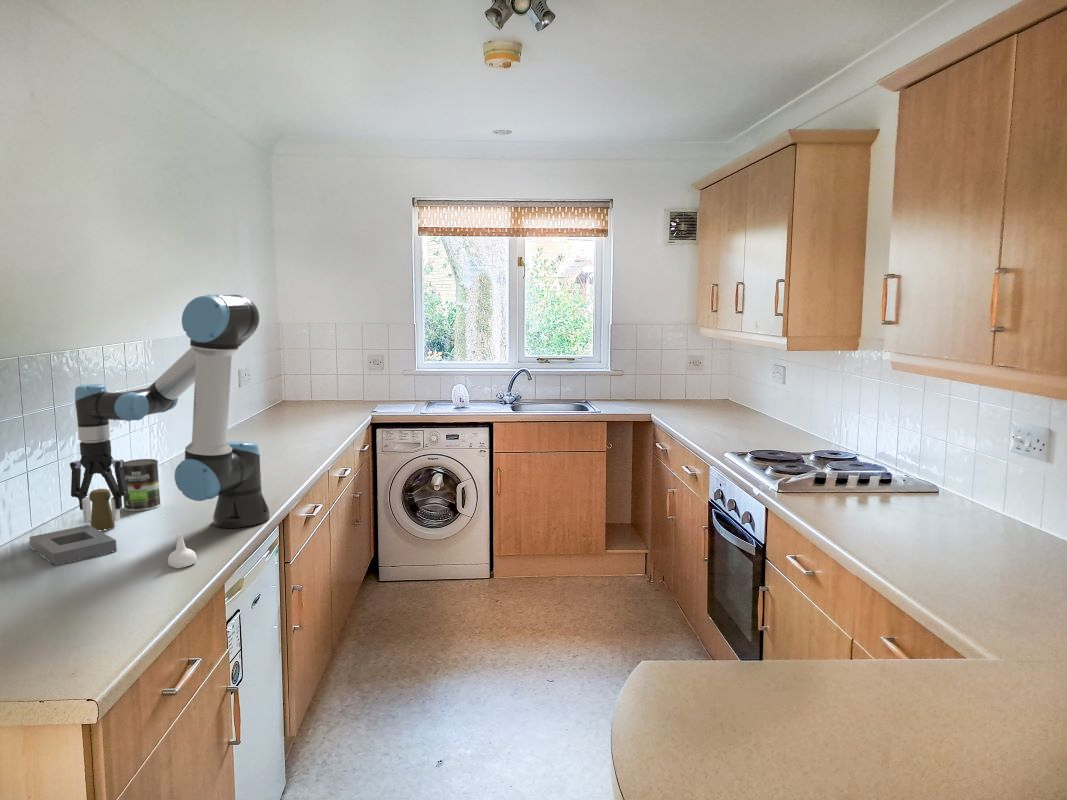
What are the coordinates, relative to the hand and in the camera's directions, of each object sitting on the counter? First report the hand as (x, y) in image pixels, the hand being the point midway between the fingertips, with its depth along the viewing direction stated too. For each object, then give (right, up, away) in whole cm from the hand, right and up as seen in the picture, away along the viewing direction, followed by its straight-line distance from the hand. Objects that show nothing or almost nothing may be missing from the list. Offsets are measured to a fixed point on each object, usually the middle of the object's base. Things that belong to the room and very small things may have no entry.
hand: (102, 520), depth 218 cm
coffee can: (+1, +1, +21) cm, 21 cm away
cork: (0, -2, 0) cm, 2 cm away
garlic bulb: (+37, -6, -31) cm, 48 cm away
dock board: (+3, -5, -19) cm, 19 cm away
